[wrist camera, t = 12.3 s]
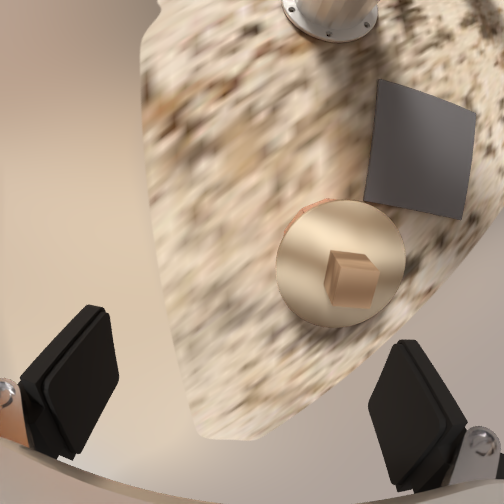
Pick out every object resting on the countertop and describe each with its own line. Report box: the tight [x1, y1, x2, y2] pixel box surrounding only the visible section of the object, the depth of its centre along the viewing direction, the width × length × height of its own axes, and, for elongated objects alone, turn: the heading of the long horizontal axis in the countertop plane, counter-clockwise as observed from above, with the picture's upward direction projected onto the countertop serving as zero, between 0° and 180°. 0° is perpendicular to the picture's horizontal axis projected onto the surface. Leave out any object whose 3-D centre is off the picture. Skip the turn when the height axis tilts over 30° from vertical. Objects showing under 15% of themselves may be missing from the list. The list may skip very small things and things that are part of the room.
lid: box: [276, 199, 406, 328], centre depth 31 cm, size 15×15×6 cm
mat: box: [363, 79, 476, 220], centre depth 34 cm, size 16×16×1 cm
